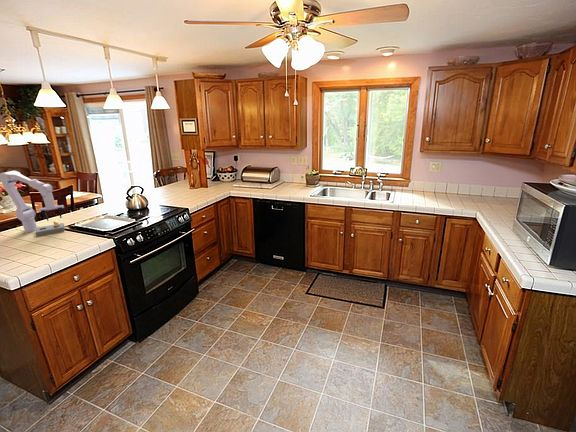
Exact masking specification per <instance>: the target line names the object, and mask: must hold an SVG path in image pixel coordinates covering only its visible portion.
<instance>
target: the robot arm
mask: <svg viewBox="0 0 576 432" xmlns="http://www.w3.org/2000/svg"><path fill="white" fill-rule="evenodd" d="M18 181H19V182H21V183H25V184H28V186H29V187H31V188H33V189H35V190H37V191H38V192H39V193H40V196H42V200H43V202H44V205H45V206H44V207H40V208H38V209H37V211H38V213H40V214H41V215H43V217H44V218H45V219H46V221H49V217H48V215H47V211H51V210H58V214H59V217H60V219H62V212H63V209H65V206H64V204H61V205H56V202H55V198H54V195H53V192H52V191H53V190H54V187H53V186H52V184H50V183H44V182H42V181H39V180H38V179H36V178H35V179H32V178H31V179H30V178H29V177H27V176H26V175H23V174H21V172H20V171H17V170H10V171H6V172H0V182H1V184H2V187H3V188H4V189H5V191H6V193H7V194H8V196H9V198H10V199H11V201H12V202H13V204H14V206H15V207H16V209H15V211H14V212H15V214H16V218H17V219H18V220H19V221H20V222H21V223H22V226H23V229H24V230H23V233H24V234H26V233H30V232H31V233H32V232H36V228H38V227H39V226H37V223H36V222H37V221H36V220H35V218H36V214H37V213H36V211H35V210H34V209H33V208H32V206H30V205H27V204H26V202H25V201H24V199H23V197H22V196H21V194H20V192H19V191H18V189H17V188H16V186H15V184H16V183H17V182H18Z"/></svg>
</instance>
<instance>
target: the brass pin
mask: <svg viewBox="0 0 576 432" xmlns="http://www.w3.org/2000/svg"><path fill="white" fill-rule="evenodd" d="M59 224H60V223H59V221H53V225H54V226H55V227H59Z"/></svg>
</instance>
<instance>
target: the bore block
mask: <svg viewBox="0 0 576 432" xmlns="http://www.w3.org/2000/svg"><path fill="white" fill-rule="evenodd" d="M58 224H59V227H55V226H54V224H49V225H45V226H44V225H43V226H37V227H38V228H36V231H34V233H35V236H36V237H41V236H42V237H43V236H46V235H51V234H56V233H61V232H65V223H64V222H61V223H58Z"/></svg>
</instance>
